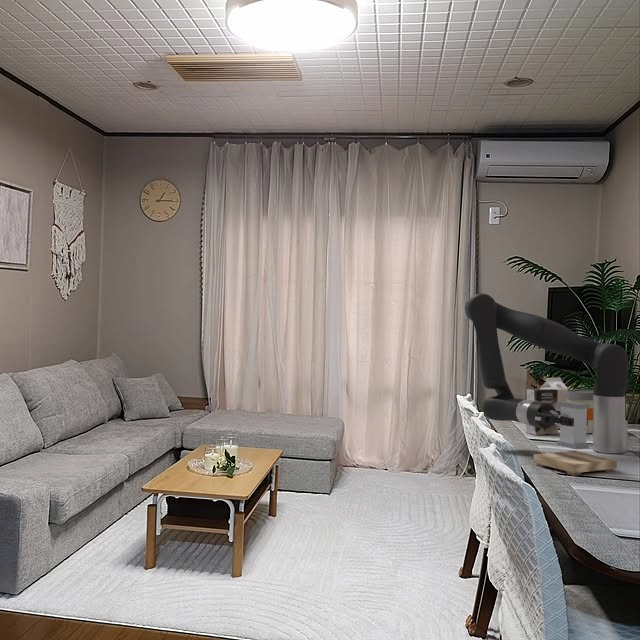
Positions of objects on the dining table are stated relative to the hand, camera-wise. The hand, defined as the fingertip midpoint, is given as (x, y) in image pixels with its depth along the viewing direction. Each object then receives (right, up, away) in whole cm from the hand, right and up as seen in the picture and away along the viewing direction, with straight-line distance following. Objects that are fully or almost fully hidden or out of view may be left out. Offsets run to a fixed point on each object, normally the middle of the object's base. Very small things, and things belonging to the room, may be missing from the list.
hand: (579, 422), depth 185 cm
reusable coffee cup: (+26, -14, +66) cm, 72 cm away
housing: (-1, -7, +2) cm, 7 cm away
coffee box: (+10, -14, +61) cm, 64 cm away
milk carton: (+19, -14, +75) cm, 79 cm away
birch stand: (-1, -13, +2) cm, 13 cm away
